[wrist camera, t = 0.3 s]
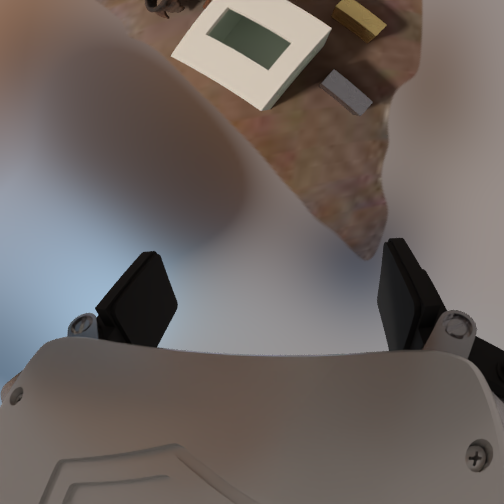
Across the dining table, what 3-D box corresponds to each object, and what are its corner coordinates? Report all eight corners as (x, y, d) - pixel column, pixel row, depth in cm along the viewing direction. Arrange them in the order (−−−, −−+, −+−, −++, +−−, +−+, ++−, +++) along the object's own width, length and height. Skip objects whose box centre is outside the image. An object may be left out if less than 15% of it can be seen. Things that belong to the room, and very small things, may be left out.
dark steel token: (329, 73, 30) (334, 69, 26) (363, 102, 31) (372, 102, 27) (318, 86, 31) (321, 83, 27) (352, 114, 32) (360, 116, 28)
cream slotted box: (250, 2, 26) (234, -25, 17) (323, 46, 28) (331, 28, 19) (200, 64, 32) (170, 56, 23) (270, 109, 34) (260, 110, 25)
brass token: (341, 6, 24) (346, -5, 20) (376, 33, 25) (386, 25, 21) (331, 17, 25) (335, 6, 21) (366, 43, 26) (376, 36, 22)
